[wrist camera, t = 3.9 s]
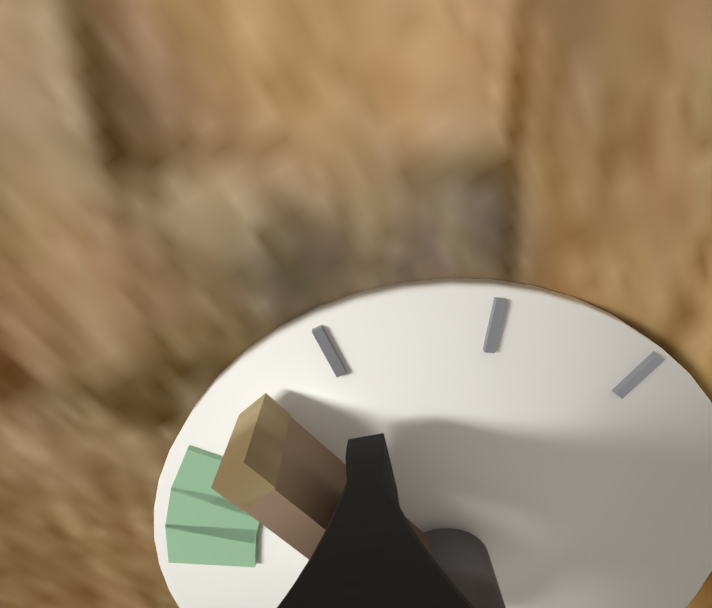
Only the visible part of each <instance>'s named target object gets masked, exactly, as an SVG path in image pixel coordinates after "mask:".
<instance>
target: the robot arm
mask: <svg viewBox="0 0 712 608" xmlns="http://www.w3.org/2000/svg"><path fill="white" fill-rule="evenodd" d="M345 460H346V476H347V482H346V485H345V487H344V490H343V493H342V495H341V498H340V500H339V502H338V504H337V507H336V509H335V511H334V513H333V515H332V517H331V520H330V522H329V524H328V526H327V528H326V530H325V532H324V534H323V536H322V538H321V540H320V541H319V543H318V545H317V547H316V549H315V550H314V552H313V554H312V556H311V557H310V559H309V561H308V562H307V564H306V565H305V567H304V569H303V570H302V572H301V573H300V575H299V577H298V578H297V580H296V581H295V583H294V584H293V586H292V587H291V589H290V590H289V592H288V593H287V595H286V596H285V597H284V599H283V600H282V601H281V603H280V604H279V605H278V607H277V608H474V607H473V605H472V604H471V603H470V602H469V601H468V600H467V599H466V598H465V596H464V595H463V594H462V593H461V592H460V591H459V590H458V589H457V587H456V586H455V585H454V584H453V582H452V581H451V580H450V579H449V577H448V576H447V575H446V574H445V572H444V571H443V570H442V569H441V567H440V566H439V565H438V564H437V562H436V561H435V560H434V559H433V557H432V556H431V554H430V553H429V552H428V550H427V549H426V547H425V546H424V545H423V543H422V542H421V540H420V539H419V537H418V536H417V534H416V533H415V531H414V530H413V528H412V527H411V525H410V523H409V522H408V520H407V519H406V517H405V515H404V513H403V512H402V510H401V508H400V505H399V498H398V492H397V486H396V482H395V478H394V474H393V470H392V465H391V461H390V457H389V453H388V449H387V445H386V440H385V436H384V433H380V434H375V435H369V436H364V437H358V438H353V439H348V443H347V448H346V456H345Z"/></svg>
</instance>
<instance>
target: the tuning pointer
mask: <svg viewBox="0 0 712 608" xmlns="http://www.w3.org/2000/svg"><path fill="white" fill-rule="evenodd" d="M290 415H291V414H289V413H288V412H287V411H286V410H285V409H284V408H283V407H281V406H280V405H279V404H278V403H277V402H276V401H275V400H273V399H272V398H271V397H270V396H269V395H268V394H267V393H265V394H264V395H262V396H261V397H260V398H259V399H257V400H256V401H255V402H254V403H253V404H251V405H250V406H249V407H248V408H246V409H245V410H244V411H243V412H242V413H240V414H239V416H238V419H237V421H236V424H235V427H234V429H233V432H232V434H231V437H230V440H229V442H228V445H227V447H226V450H225V453H224V455H223V458H222V460H221V463H220V466H219V468H218V471H217V473H216V476H215V479H214V481H213V484H212V486H211V488H212V489H213V490H215V491H216V492H217V493H219V494H220V495H221V496H223V497H224V498H225V499H227V500H228V501H229V502H230V503H232V504H233V505H234V506H236V507H237V508H238V509H240V510H241V511H242V512H243V511H245V512H247V513H248V514H249V515H251V516H252V517H253V518H255V519H256V520H257V521H259V522H260V523H261V524H262V525H264V526H265V527H266V528H268V529H269V530H270V531H272V532H273V533H274V534H276V535H277V536H278V537H280V538H281V539H282V540H284V541H285V542H286V543H288V544H289V545H290V546H292V547H293V548H294V549H296V550H297V551H298V552H300V553H301V554H302V555H303V556H305V557H306V558H307V559H310V557H311V556H312V554H313V552H314V550H315V549H316V547H317V545H318V543H319V541H320V540H321V538H322V536H323V534H324V532H325V530H326V528H327V526H328V524H329V522H330V520H331V517H332V515H333V513H334V511H335V509H336V507H337V504H338V502H339V500H340V498H341V495H342V493H343V490H344V487H345V485H346V482H347V476H346V465H345V464H344V463H343V462H342V461H341V460H340V459H339V458H337V457H336V456H335V455H334V454H333V453H332V452H331V451H329V450H328V449H327V448H326V447H325V446H324V445H323V444H321V443H320V442H319V441H318V440H317V439H316V438H315V437H313V436H312V435H311V434H310V433H309V432H308V431H307V430H305V429H304V428H303V427H302V426H301V425H300V424H299V423H297V422H296V421H295V420H294V419H293V418H292V417H291V416H290ZM406 519H407V518H406ZM407 520H408V519H407ZM408 522H409V523H410V525H411V527H412V528H413V530H414V531H415V533H416V534H417V536H418V537H419V539H420V540H421V542H422V543H423V545H424V546H425V547H426V549H427V550H428V552H429V553H430V554H431V556H432V557H433V559H434V560H435V561H436V562H437V564H438V565H439V566H440V567H441V569H442V570H443V571H444V572H445V574H446V575H447V576H448V577H449V579H450V580H451V581H452V582H453V584H454V585H455V586H456V587H457V589H458V590H459V591H460V592H461V593H462V594H463V595H464V596H465V598H466V599H467V600H468V601H469V602H470V603H471V604H472V605H473V607H474V608H506V607H505V604H504V601H503V597H502V594H501V591H500V588H499V585H498V582H497V579H496V575H495V572H494V569H493V566H492V563H491V560H490V557H489V554H488V551H487V548H486V546H485V545H484V543H483V542H482V541H481V540H480V539H479V538H477V537H476V536H475V535H473V534H471V533H469V532H466V531H463V530H459V529H452V528H441V529H434V530H430V531H427V532H424V533H423V532H422V531H421V530H420V529H419V528H418V527H416V526H415V525H414V524H413V523H412V522H411V521H410V520H408Z"/></svg>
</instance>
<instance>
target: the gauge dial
mask: <svg viewBox="0 0 712 608" xmlns="http://www.w3.org/2000/svg"><path fill="white" fill-rule="evenodd" d="M265 393H267V394H268V395H269V396H270V397H271V398H272V399H273V400H275V401H276V402H277V403H278V404H279V405H280V406H281V407H283V408H284V409H285V410H286V411H287V412H288V413H289V414H291V415H290V416H291V417H292V418H293V419H294V420H295V421H296V422H297V423H299V424H300V425H301V426H302V427H303V428H304V429H305V430H307V431H308V432H309V433H310V434H311V435H312V436H313V437H315V438H316V439H317V440H318V441H319V442H320V443H321V444H323V445H324V446H325V447H326V448H327V449H328V450H329V451H331V452H332V453H333V454H334V455H335V456H336V457H337V458H339V459H340V460H341V461H342V462H343V463H344V464H345V465H346V460H345V456H346V448H347V443H348V439H353V438H358V437H364V436H369V435H375V434H380V433H384V436H385V440H386V445H387V449H388V453H389V457H390V461H391V465H392V470H393V474H394V478H395V482H396V486H397V492H398V498H399V505H400V508H401V510H402V512H403V513H404V515H405V517H406V518H407V519H408V520H410V521H411V522H412V523H413V524H414V525H415V526H416V527H418V528H419V529H420V530H421V531H422V532H423V533H424V532H427V531H430V530H434V529H441V528H452V529H459V530H463V531H466V532H469V533H471V534H473V535H475V536H476V537H477V538H479V539H480V540H481V541H482V542H483V543H484V545H485V546H486V548H487V551H488V554H489V557H490V560H491V563H492V566H493V569H494V572H495V575H496V579H497V582H498V585H499V588H500V591H501V594H502V597H503V601H504V604H505V607H506V608H685V607H686V606H687V605H688V604H689V603H690V601H691V600H692V599H693V598H694V597H695V596H696V594H697V593H698V591H699V590H700V588H701V587H702V585H703V584H704V582H705V580H706V579H707V577H708V576H709V574H710V573H711V571H712V403H711V401H710V400H709V398H708V397H707V396H706V394H705V393H704V392H703V390H702V389H701V388H700V387H699V385H698V384H697V383H696V381H695V380H694V379H693V377H692V376H691V375H690V373H688V372H687V371H686V370H685V369H684V368H683V367H682V366H681V365H680V364H679V363H677V362H676V361H675V360H674V359H673V358H672V357H671V356H670V355H669V354H668V353H667V352H665V351H664V350H663V349H662V348H661V347H659V346H658V345H657V344H655V343H654V342H652V341H651V340H650V339H648V338H647V337H646V336H644V335H643V334H641V333H640V332H638V331H637V330H635V329H634V328H632V327H631V326H629V325H627V324H626V323H624V322H623V321H621V320H620V319H618V318H617V317H615V316H614V315H612V314H611V313H609V312H606V311H604V310H602V309H600V308H597V307H595V306H593V305H591V304H589V303H586V302H584V301H582V300H580V299H577V298H575V297H573V296H569V295H566V294H562V293H559V292H555V291H552V290H548V289H545V288H542V287H538V286H535V285H529V284H522V283H516V282H509V281H502V280H496V279H481V278H438V279H429V280H419V281H409V282H400V283H396V284H391V285H387V286H383V287H378V288H374V289H369V290H365V291H361V292H357V293H354V294H351V295H348V296H346V297H343V298H340V299H337V300H335V301H332V302H329V303H326V304H324V305H321V306H318V307H316V308H314V309H312V310H310V311H308V312H306V313H304V314H302V315H300V316H298V317H296V318H294V319H292V320H290V321H288V322H286V323H285V324H283V325H281V326H279V327H277V328H276V329H274V330H273V331H272V332H270V333H269V334H267V335H266V336H264V337H263V338H262V339H260V340H259V341H257V342H256V343H254V344H253V345H251V346H250V347H249V348H247V349H246V350H245V351H244V352H243V353H242V354H240V355H239V356H238V357H237V358H236V359H235V360H234V361H233V362H232V363H231V364H230V365H229V366H228V367H226V368H225V369H224V370H223V371H222V372H221V373H220V374H219V375H218V376H217V377H216V379H215V380H214V381H213V382H212V384H211V385H210V386H209V387H208V389H207V390H206V391H205V392H204V394H203V395H202V396H201V397H200V399H199V400H198V401H197V403H196V405H195V406H194V408H193V410H192V412H191V413H190V415H189V417H188V419H187V420H186V422H185V424H184V426H183V427H182V429H181V431H180V433H179V435H178V436H177V438H176V440H175V442H174V444H173V445H172V447H171V449H170V451H169V454H168V457H167V459H166V462H165V465H164V468H163V470H162V473H161V476H160V479H159V483H158V489H157V495H156V501H155V506H154V539H155V544H156V549H157V554H158V559H159V564H160V567H161V570H162V573H163V575H164V578H165V580H166V583H167V586H168V588H169V591H170V592H171V594H172V596H173V597H174V599H175V601H176V603H177V604H178V606H179V608H277V607H278V605H279V604H280V603H281V601H282V600H283V599H284V597H285V596H286V595H287V593H288V592H289V590H290V589H291V587H292V586H293V584H294V583H295V581H296V580H297V578H298V577H299V575H300V573H301V572H302V570H303V569H304V567H305V565H306V564H307V562H308V561H309V559H307V558H306V557H305V556H303V555H302V554H301V553H300V552H298V551H297V550H296V549H294V548H293V547H292V546H290V545H289V544H288V543H286V542H285V541H284V540H282V539H281V538H280V537H278V536H277V535H276V534H274V533H273V532H272V531H270V530H269V529H268V528H266V527H265V526H264V525H262V524H261V523H260V522H259V521H257V520H256V519H255V518H253V517H252V516H251V515H249V514H248V513H247V512H245V511H243V512H242V511H241V510H240V509H238V508H237V507H236V506H234V505H233V504H232V503H230V502H229V501H228V500H227V499H225V498H224V497H223V496H221V495H220V494H219V493H217V492H216V491H215V490H213V489H212V488H211V486H212V484H213V481H214V479H215V476H216V473H217V471H218V468H219V466H220V463H221V460H222V458H223V455H224V453H225V450H226V447H227V445H228V442H229V440H230V437H231V434H232V432H233V429H234V427H235V424H236V421H237V419H238V416H239V414H240V413H242V412H243V411H244V410H245V409H246V408H248V407H249V406H250V405H251V404H253V403H254V402H255V401H256V400H257V399H259V398H260V397H261V396H262V395H264V394H265Z"/></svg>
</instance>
